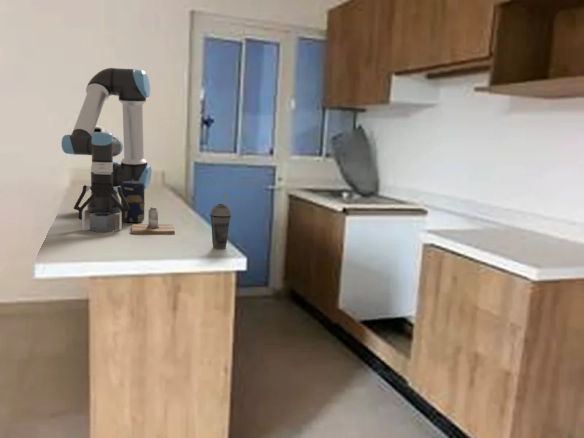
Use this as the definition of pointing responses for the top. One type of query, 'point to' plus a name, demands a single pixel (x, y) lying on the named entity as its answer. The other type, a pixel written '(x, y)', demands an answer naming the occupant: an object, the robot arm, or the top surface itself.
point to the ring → (102, 222)
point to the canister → (133, 200)
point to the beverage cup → (220, 225)
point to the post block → (152, 225)
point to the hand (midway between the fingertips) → (102, 228)
